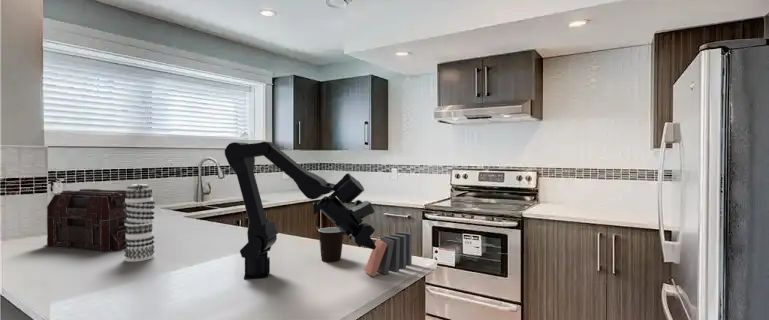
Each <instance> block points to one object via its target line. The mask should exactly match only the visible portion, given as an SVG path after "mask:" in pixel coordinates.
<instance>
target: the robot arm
mask: <svg viewBox="0 0 769 320" xmlns="http://www.w3.org/2000/svg"><path fill="white" fill-rule="evenodd" d="M224 156H225V158H226V161H227V163H228V165H229V166H230V169H232V171H233V172H234V173H235V175H236V177H237V180H238V185H239V189H240V192H241V197H242V200H243V203H244V207H245V211H246V215H247V218H248V219H247V220H248V226H247V243H245V245H244V246H243V247H241V249H240V250H239V253H240V256H241V258H243V259H244V276H243V279H244V280H246V279H247V280H249V279H259V278H260V279H261V278H268V277H269V274H270V272H271V259H270V258H271V257H270V256H268V252H269V251H271V249H272V247H273V245H274V244H275V243H276V241H277V238H278V237H277V235H278V234H279V232H278V231H277V228H276V222H275V221H274V220H272V221H269V220H270V219H268V218H267V216H266V214H265V210H264V207H263V206H264V205H263V202H262V199H261V194H260V192H259V186H258V183H257V179H256V175H255V171H254V168H255V163H256V158H257V157H262V156H263V157H264V158H266V159H267V160H268V161H270V162H271V163H272V164H273V165H274V166H276V167H277V168H279V170H280V171H281V172H282V173H284V174H285V175H287V176H288V177H289V178H290V179H291V180H292V181H293V182H295V184H296V186H297V188H298V190H300V191H301V193H302V194H303V195H304V197H306V198H307V199H309V200H317V199H319V198H321V197H323V198H321V199H320V200H319V201H314V202H313V203H312V208H313V215H316V214H317V213H319V212H320V211H321V213H323V214H324V215H325V216H326V218H328V219H329V220H330V221H331V223H333V224H334V225H335V226H336V227H337V228H339V230H340V231H341V232H342V233H343V234H344V235H343V236H348V237H349V238H348V239H349V240H350V241H352V242H353V243H354V244H355V245H357V246H358V247H359V248H360V247H362V246H363V247H366V248H368V249H372V250H373V249H375V248H376V245H375V242H374V240H373V239H372V238H371V236H372V235H373V234H374V232H375V230H376V229H375V228H374V227H373V226H372V225H371V224H369V223H367V222H363V221H364V218H365V217H366V218H367V216H369V215H372V214H374V213H375V209H374V207H373V205H372V202H370V201H369V200H364V201H362V200H360V199H357V200H355V199H356V198H357V197H358V196H360V195H361V194H362V193H364V191H365V188H364V186H363V184H362V183H361V182H360V181H359V180H357V179H356V178H355V177H354V176H352V175H351V174H350V173H349V172H348V173H346V174H344V175H343V176H342V178H341V179H340V180H339V181H338V182H337V183H336V184H335V183H330V182H328V181H327V180H326V179H325V178H323V177H321V176H319V175H318V174H315V173H313V172H311V171H309V170H307V169H305V168H303V167H302V166H301V165H300V164H299V163H297V162H296V161H295V160H294V159H292V158H291V157H290V156H289V155H287V154H286V153H285V152H284V151H283V150H281V149H280V148H279V147H278V146H276V145H275V143H274V142H272V141H261V142H254V143H248V142H239V141H238V142H236V141H235V142H229V143H228V144H227V146H226V148H225V149H224ZM328 194H330V195H328ZM327 195H328V196H327ZM354 200H355V201H354ZM353 201H354V203H353V205H354V206H352V208H350V207H348V206H346V205H345V203H347V204H351V203H352V202H353Z"/></svg>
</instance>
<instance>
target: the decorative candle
mask: <svg viewBox="0 0 769 320" xmlns="http://www.w3.org/2000/svg"><path fill="white" fill-rule="evenodd" d="M123 190H126V198H125V202H123V205H124V206H125V208H124V209H123V211H124V212H125V213H124V214H123V216H124V217H126V219H124V222H125V224H124V225H125V226H126V239H125V240H124V241H125V242H127V243H125V246H126V247H127V248H126V249H123V250H124V257H125V258H124V261H125V262H133V263H134V262H143V261H146V260H151V259H153V258H155V255H154V253H155V250H154V249H155V245H154V244H155V241H154V239H155V236H154V230H153V224H154V223H155V221H154V219H155V216H153V215H155V212H154V211H153V210H154V209H155V208H156V207H155V206H153V205H155V204H156V202H155V201H153V200H154V197H153V187H151V186H150V184H148V183H133V184H129V185H127V187H126V188H124V189H123Z"/></svg>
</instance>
